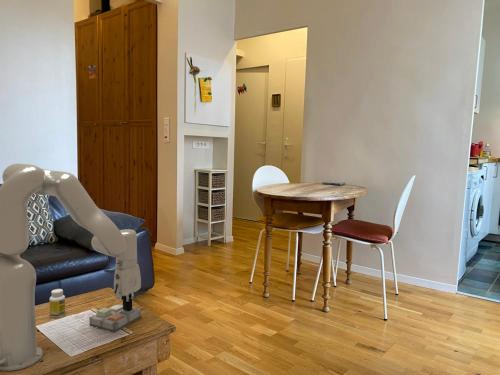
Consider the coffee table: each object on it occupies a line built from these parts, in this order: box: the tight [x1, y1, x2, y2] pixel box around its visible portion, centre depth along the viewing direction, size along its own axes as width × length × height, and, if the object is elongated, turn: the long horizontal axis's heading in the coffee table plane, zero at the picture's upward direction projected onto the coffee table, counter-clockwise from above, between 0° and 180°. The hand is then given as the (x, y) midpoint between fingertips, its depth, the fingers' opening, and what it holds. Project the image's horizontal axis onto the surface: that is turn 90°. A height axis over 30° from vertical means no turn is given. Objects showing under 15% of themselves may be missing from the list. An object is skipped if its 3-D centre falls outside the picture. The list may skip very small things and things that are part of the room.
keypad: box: [88, 303, 142, 334], centre depth 146 cm, size 14×12×3 cm
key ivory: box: [109, 304, 123, 312], centre depth 149 cm, size 3×3×3 cm
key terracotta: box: [109, 314, 123, 322], centre depth 142 cm, size 3×3×3 cm
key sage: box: [96, 307, 111, 318], centre depth 144 cm, size 3×3×3 cm
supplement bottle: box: [49, 288, 66, 318], centre depth 150 cm, size 5×5×10 cm
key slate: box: [121, 309, 134, 315], centre depth 147 cm, size 3×3×3 cm
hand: (127, 309), depth 147 cm, fingers closed
